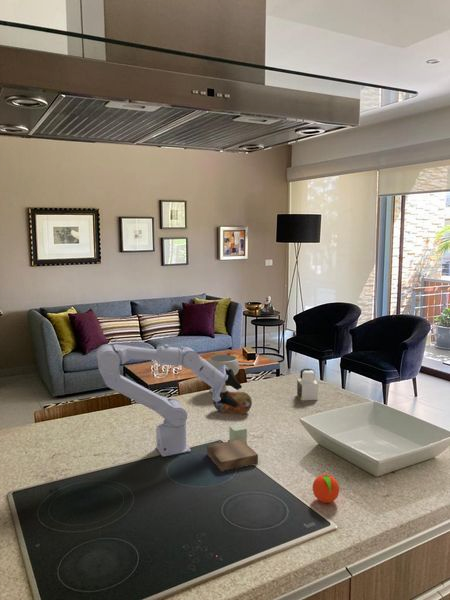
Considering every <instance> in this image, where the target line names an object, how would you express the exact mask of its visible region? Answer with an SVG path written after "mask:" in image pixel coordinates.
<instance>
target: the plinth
mask: <svg viewBox="0 0 450 600" xmlns="http://www.w3.org/2000/svg"><path fill="white" fill-rule="evenodd" d="M206 454H207V455H206V456H208V458H209V457H210V458H211V459H212V460H211V459H210V458H209V459H210V460H211V462H213V463H214V465H215V464H216V465H217V466H216V465H215V466H216V467H217V468H218V469H219V471H220V470H221V471H222V472H225V471H224V470H227V471H229V470H228V469H232V468H236V469H238V468H237V467H241V466H246V465H250V466H253V465H252V464H255V465H258V463H259V453H257V452H256V451H255V450H254V449H253V448H252V447H250V446H249V445H248V444H247V443H245V442H244V441H243V440H242V439H240V440H234V441H230V440H229V441H226V442H225V441H224V442H220V443H219V442H218V443H215V444H208V445H207V446H206ZM246 467H247V466H246ZM241 468H242V467H241ZM232 470H233V469H232ZM221 471H220V472H221Z"/></svg>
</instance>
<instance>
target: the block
mask: <svg viewBox="0 0 450 600" xmlns="http://www.w3.org/2000/svg"><path fill="white" fill-rule="evenodd" d="M228 428H229V435H228V436H229V437H228V439H229V441H234V440H240V439H242V440H243V441H244V442H245V443H246V444H247V443H248V441H247V439H248V435H247V434H248V433H247V432H248V431H247V428H246V427H245V425H243V424H242V423H238V424H235V425H229V427H228Z"/></svg>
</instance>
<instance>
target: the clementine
mask: <svg viewBox="0 0 450 600" xmlns="http://www.w3.org/2000/svg"><path fill="white" fill-rule="evenodd" d="M312 493H313V496H315V498H316V499H317V500H318V501H320V502H321V503H325V504H329V503H331V502H334V501H335V500H336V499H337V498H338V497H339V494H340V485H339V483H338V480H337V479H335V477H333V476H332V475H329V474H324V473H323V474H321V475H319V476H317V477H316V478H315V479H314V481H313V483H312Z"/></svg>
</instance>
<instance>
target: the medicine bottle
mask: <svg viewBox="0 0 450 600" xmlns="http://www.w3.org/2000/svg"><path fill="white" fill-rule="evenodd" d="M296 382H297V383H296V396H298V398H299V400H301V401H302V402H303V401H305V402H306V401H318V399H319V383H318V382H317V381H316V371H315V370H314V369H313V368H303V369H301V370H300V375H299V378H298V379H296Z"/></svg>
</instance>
